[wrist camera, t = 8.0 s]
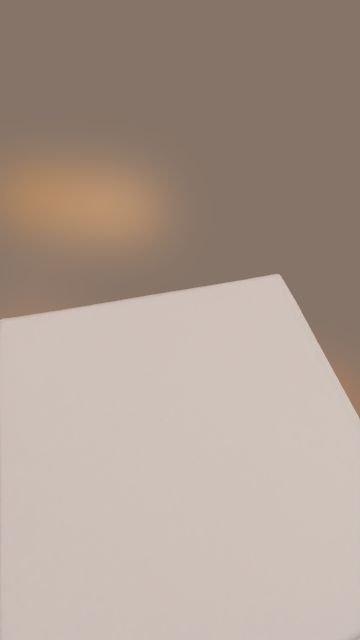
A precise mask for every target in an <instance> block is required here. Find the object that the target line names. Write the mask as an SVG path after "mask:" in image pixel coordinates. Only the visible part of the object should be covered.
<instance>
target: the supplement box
mask: <svg viewBox="0 0 360 640" xmlns="http://www.w3.org/2000/svg"><path fill="white" fill-rule="evenodd" d="M0 640H360V419H359V417H358V415H357V413H356V412H355V410H354V408H353V406H352V404H351V402H350V401H349V399H348V397H347V395H346V393H345V391H344V390H343V388H342V386H341V384H340V382H339V381H338V379H337V377H336V375H335V373H334V371H333V369H332V368H331V366H330V364H329V362H328V360H327V359H326V357H325V355H324V353H323V351H322V349H321V347H320V346H319V344H318V342H317V340H316V338H315V336H314V335H313V333H312V331H311V329H310V327H309V325H308V323H307V321H306V320H305V318H304V316H303V315H302V312H301V310H300V308H299V307H298V305H297V303H296V301H295V299H294V298H293V296H292V294H291V293H290V291H289V289H288V288H287V286H286V284H285V282H284V281H283V279H282V277H281V276H280V275H279V274H274V275H269V276H263V277H257V278H251V279H246V280H240V281H234V282H228V283H222V284H216V285H210V286H204V287H198V288H192V289H186V290H180V291H174V292H167V293H162V294H155V295H149V296H143V297H137V298H131V299H126V300H120V301H114V302H108V303H101V304H96V305H90V306H84V307H78V308H72V309H65V310H59V311H52V312H46V313H40V314H33V315H27V316H21V317H14V318H5V319H1V320H0Z"/></svg>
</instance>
